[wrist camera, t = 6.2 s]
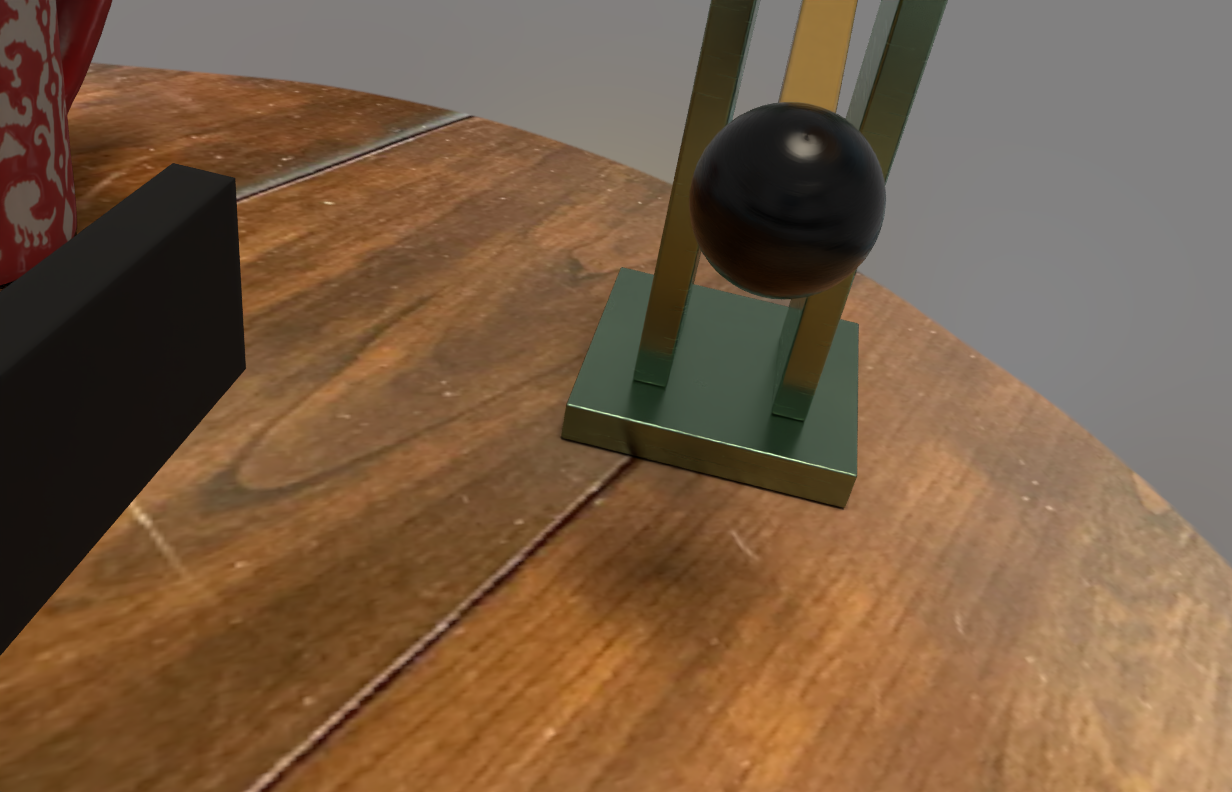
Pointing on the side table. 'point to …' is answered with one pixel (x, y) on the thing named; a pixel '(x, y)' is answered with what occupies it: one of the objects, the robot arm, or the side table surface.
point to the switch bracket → (744, 306)
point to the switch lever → (792, 176)
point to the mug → (40, 123)
